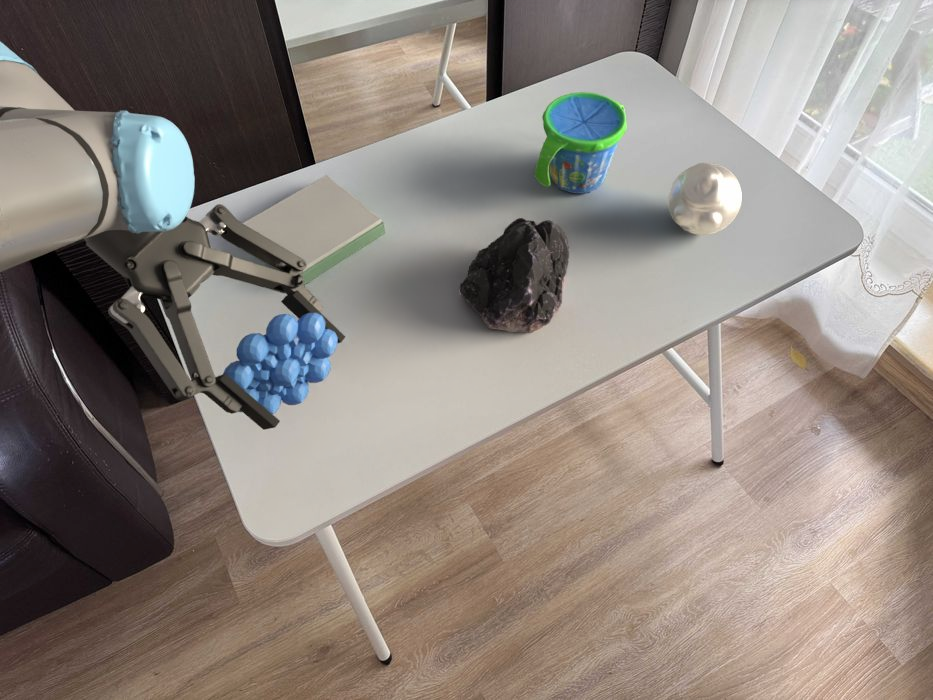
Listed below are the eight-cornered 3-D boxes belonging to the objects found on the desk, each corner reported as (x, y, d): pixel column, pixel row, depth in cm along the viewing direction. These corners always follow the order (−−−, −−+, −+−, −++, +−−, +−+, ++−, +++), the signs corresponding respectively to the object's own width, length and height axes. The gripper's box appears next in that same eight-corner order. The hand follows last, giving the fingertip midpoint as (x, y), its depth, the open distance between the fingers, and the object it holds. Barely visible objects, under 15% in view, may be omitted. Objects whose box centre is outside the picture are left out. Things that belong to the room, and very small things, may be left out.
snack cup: (560, 223, 94) (566, 162, 86) (509, 182, 99) (511, 120, 91) (644, 174, 99) (658, 111, 91) (592, 136, 104) (601, 74, 96)
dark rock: (470, 348, 83) (477, 299, 75) (448, 259, 90) (452, 204, 82) (578, 334, 86) (597, 284, 77) (550, 247, 92) (564, 192, 84)
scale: (297, 289, 89) (292, 275, 87) (243, 236, 94) (237, 222, 92) (385, 233, 94) (383, 218, 92) (329, 186, 100) (326, 172, 98)
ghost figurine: (644, 217, 94) (658, 156, 86) (701, 193, 97) (721, 132, 89) (686, 261, 90) (706, 201, 82) (746, 235, 92) (770, 174, 84)
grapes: (329, 349, 76) (307, 268, 67) (357, 392, 73) (338, 314, 63) (225, 396, 73) (186, 319, 63) (249, 445, 69) (212, 370, 60)
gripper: (189, 148, 69) (351, 308, 77) (1, 310, 57) (216, 479, 65) (215, 115, 63) (387, 292, 71) (12, 288, 51) (246, 477, 59)
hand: (305, 381), depth 68 cm, fingers closed on grapes, 10 cm apart
